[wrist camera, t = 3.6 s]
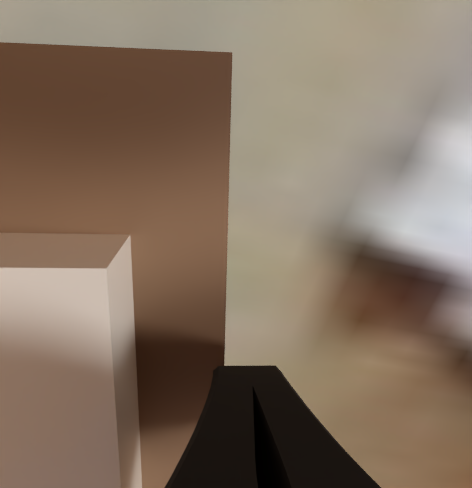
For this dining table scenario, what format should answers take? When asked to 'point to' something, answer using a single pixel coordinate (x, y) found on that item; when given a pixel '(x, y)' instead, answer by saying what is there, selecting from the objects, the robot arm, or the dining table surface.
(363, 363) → the dining table surface
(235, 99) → the dining table surface
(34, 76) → the riser
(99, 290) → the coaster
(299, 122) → the dining table surface
